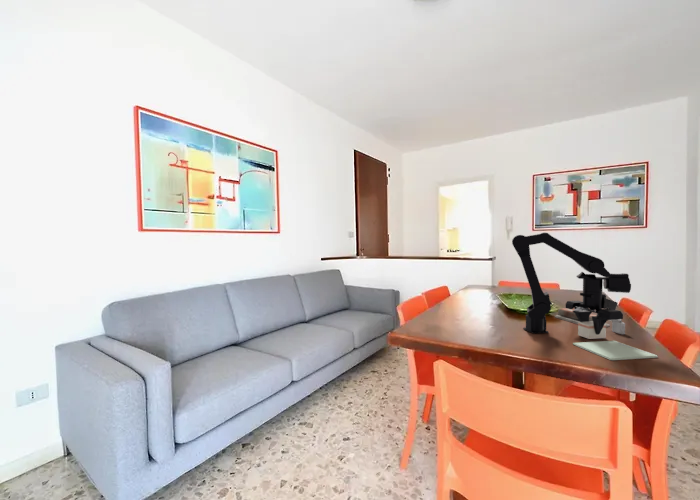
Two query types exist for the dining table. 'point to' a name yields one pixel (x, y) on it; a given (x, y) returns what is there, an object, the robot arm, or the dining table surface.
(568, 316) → the packaged product
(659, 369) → the dining table surface
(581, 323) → the white box
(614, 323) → the lighter
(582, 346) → the mat
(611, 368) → the dining table surface
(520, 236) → the robot arm
